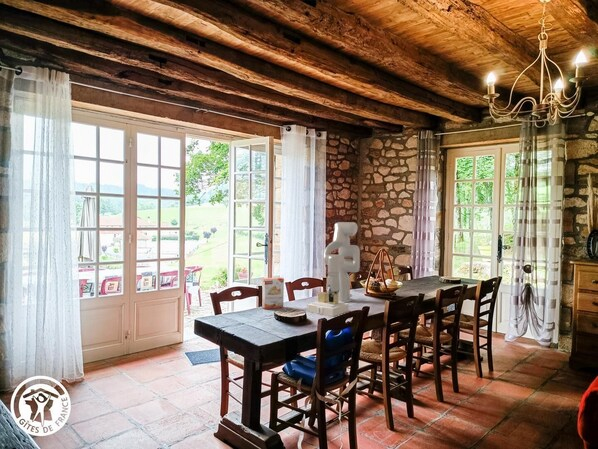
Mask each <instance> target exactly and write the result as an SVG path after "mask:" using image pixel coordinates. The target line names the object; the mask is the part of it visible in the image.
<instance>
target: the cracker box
mask: <svg viewBox="0 0 598 449" xmlns="http://www.w3.org/2000/svg"><path fill="white" fill-rule="evenodd" d="M284 281H285V278H284V277H280V276H279V277H263V278H262V297H261V298H262V302H261V304H262V306H261V308H263V310H271V309H272V310H273V309H281V308H280V307H283V308H284V295H285V294H284V293H285V292H284V290H285V288H284V287H285V286H284V285H285V282H284Z"/></svg>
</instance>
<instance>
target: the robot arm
mask: <svg viewBox="0 0 598 449" xmlns="http://www.w3.org/2000/svg"><path fill="white" fill-rule="evenodd" d="M358 228H359V226H358V224H357V223H356V222H352V221H350V222H349V221H348V222H347V221H337V222H335V223H334V232H333V237H332V241H331V242H330V243H328V245H327V246H326V247H325V249H324V254H323V259H322V261H323V264H324V265H326V266H327V277H326V288H325V289H326V293H328V296H329V302H333V293H337V294H339V296H338V301H340V302H345V303H350V302H352V301H353V299H352V298H351V297H353V295H352V294H351V278H350V275H349V273H358V272H360V264H361V263H360V262H361V261H360V259H361V258H360V257H361V254H360V252H361V250H360V247H359V246H358V245H356V244H351V239H350V237H354V236H355V235H356V234H357V232H358ZM336 250H338V254H333V253H332V254H330V253H331V252H333V251H336ZM345 258H346V259H345ZM348 258H351V259H348Z"/></svg>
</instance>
